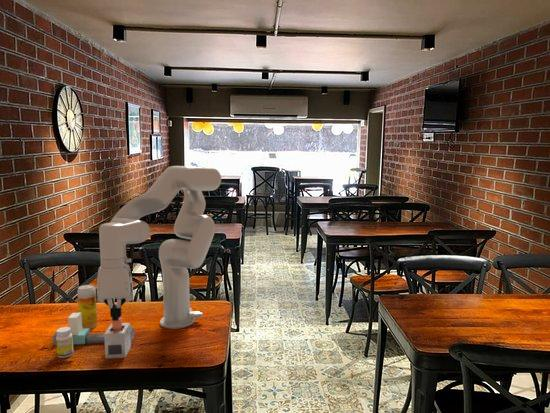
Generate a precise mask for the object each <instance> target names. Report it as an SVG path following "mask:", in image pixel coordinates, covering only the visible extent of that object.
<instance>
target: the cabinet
mask: <svg viewBox="0 0 550 413" xmlns="http://www.w3.org/2000/svg"><path fill="white" fill-rule="evenodd" d="M130 327H131V322H122V329H123V330H122V331H112V323H110V324H109V326H108V327H107V329H106V330H105V332H104V333H105V334H104V341H105V343H104V354H105V357H104V358H105V359H122V358H126V357H127V355H128V353H129V351H130V349H131V346H132V342H131V334H130Z"/></svg>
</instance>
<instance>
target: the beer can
mask: <svg viewBox="0 0 550 413" xmlns="http://www.w3.org/2000/svg"><path fill="white" fill-rule="evenodd" d="M76 292H77V293H76V294H77V305H78V306H77V308H78V309H77V310H78V313H81V316H82V329H84V328H89V330H90V329H94V328H95V327H96V326H97V325H98V309H97V307H98V306H97V305H98V304H97V288H96V287H95V285H94V284H83V285H80V286H78V288H77V291H76Z"/></svg>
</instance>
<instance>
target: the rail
mask: <svg viewBox="0 0 550 413" xmlns="http://www.w3.org/2000/svg"><path fill="white" fill-rule="evenodd" d="M104 334H105V332H103V333H89V334H87V336H86V337H85V344H100V343H101V344H105V341H104ZM130 334H131V343H132V342H133V340H134V338H135V326H133V325H131V326H130ZM56 336H57V331H56V332H55V333H54V334H53V335H52V343H53V347H57V346H56ZM85 344H84V345H85Z"/></svg>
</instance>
